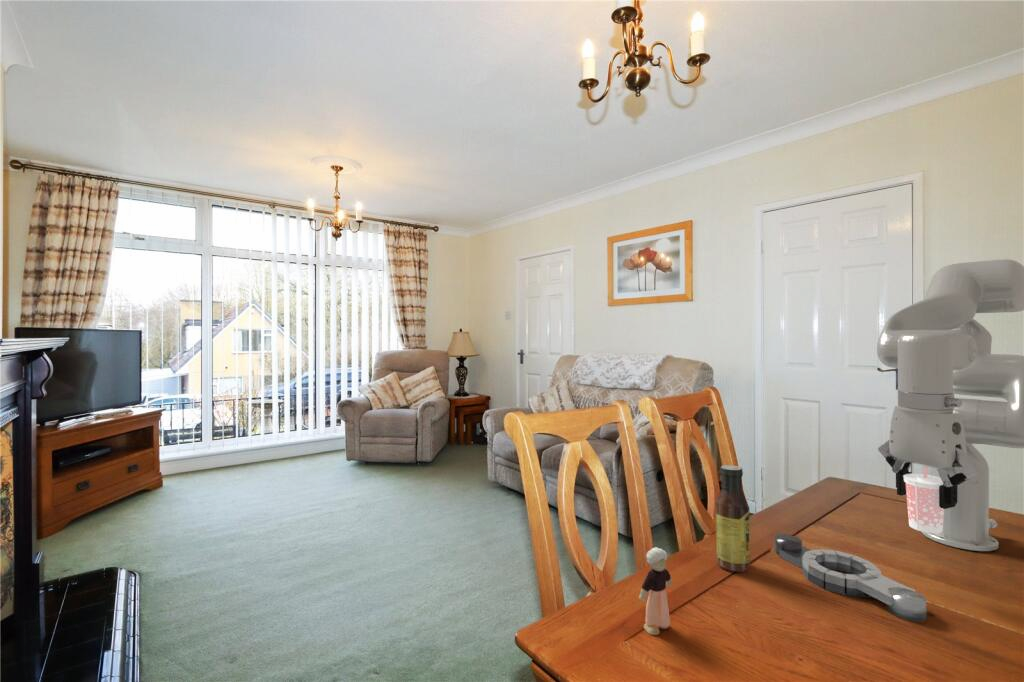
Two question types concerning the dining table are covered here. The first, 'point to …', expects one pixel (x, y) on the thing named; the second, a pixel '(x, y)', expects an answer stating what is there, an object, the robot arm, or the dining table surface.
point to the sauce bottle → (732, 522)
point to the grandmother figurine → (656, 592)
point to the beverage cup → (924, 502)
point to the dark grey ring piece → (794, 552)
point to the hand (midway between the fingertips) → (925, 499)
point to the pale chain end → (868, 583)
